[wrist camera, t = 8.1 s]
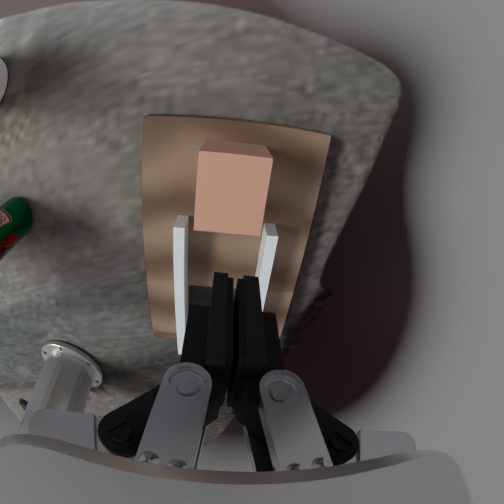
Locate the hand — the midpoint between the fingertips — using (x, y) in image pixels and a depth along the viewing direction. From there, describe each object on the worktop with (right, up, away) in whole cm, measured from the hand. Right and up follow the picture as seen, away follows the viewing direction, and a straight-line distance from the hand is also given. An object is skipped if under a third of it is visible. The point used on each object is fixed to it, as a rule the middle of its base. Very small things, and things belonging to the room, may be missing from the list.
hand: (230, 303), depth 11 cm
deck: (-2, +3, +19) cm, 19 cm away
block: (-1, +9, +13) cm, 16 cm away
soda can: (-28, +7, +15) cm, 32 cm away
